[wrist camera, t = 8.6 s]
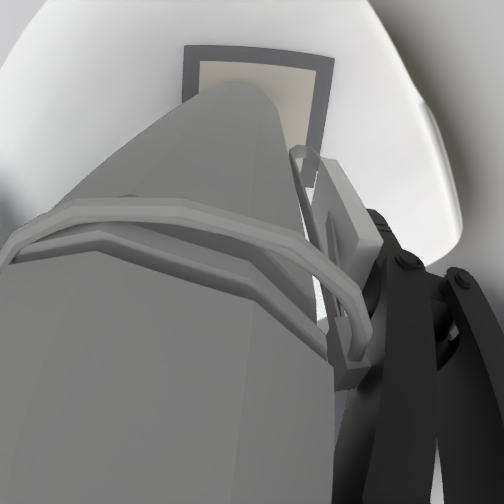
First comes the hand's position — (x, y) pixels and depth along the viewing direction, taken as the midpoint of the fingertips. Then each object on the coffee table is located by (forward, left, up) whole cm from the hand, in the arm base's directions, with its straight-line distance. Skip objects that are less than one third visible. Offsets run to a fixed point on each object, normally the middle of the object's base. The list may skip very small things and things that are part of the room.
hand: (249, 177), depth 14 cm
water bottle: (-1, 0, -10) cm, 10 cm away
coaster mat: (0, 0, -15) cm, 15 cm away
